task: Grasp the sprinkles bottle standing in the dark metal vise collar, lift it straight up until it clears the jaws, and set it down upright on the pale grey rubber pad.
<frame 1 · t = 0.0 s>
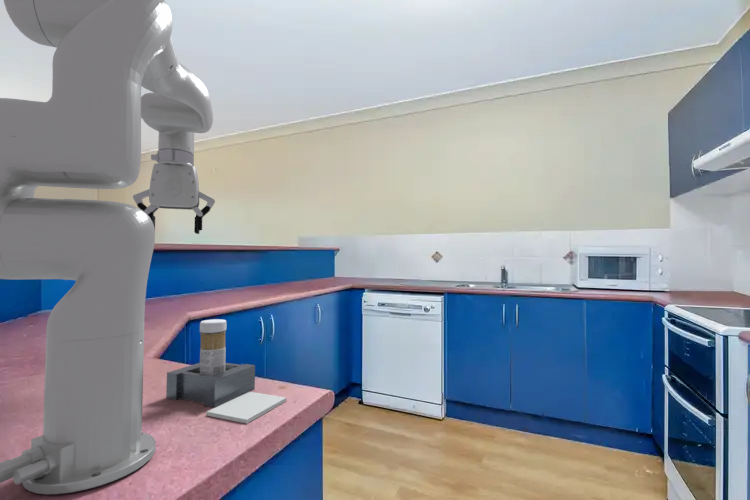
hand: (174, 232, 89), 31 cm above the table, tool pointing down, fingers open, 9 cm apart
sprinkles bottle: (212, 394, 69), resting in vise collar
vise collar: (212, 393, 69), on the table
rubber pad: (248, 407, 62), on the table
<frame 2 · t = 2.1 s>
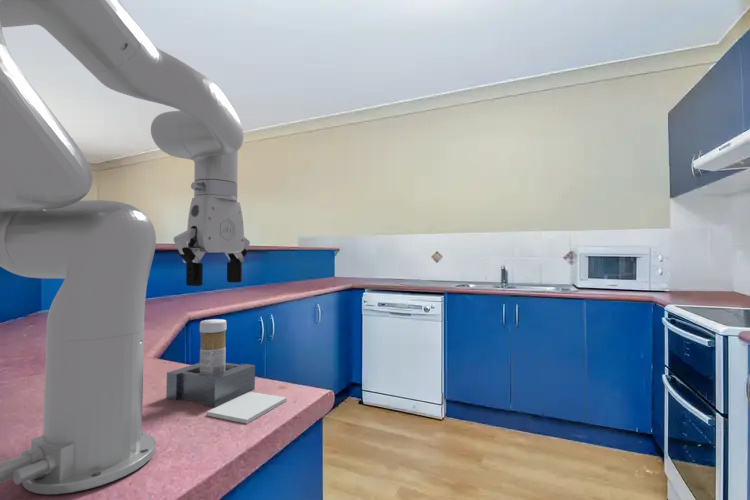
hand: (215, 283, 71), 20 cm above the table, tool pointing down, fingers open, 9 cm apart
nothing on the table moved.
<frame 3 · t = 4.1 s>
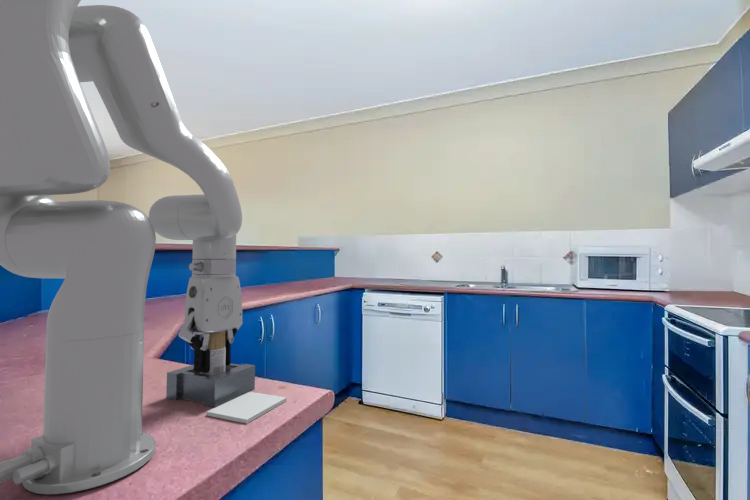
hand: (212, 366, 70), 5 cm above the table, tool pointing down, fingers closed on sprinkles bottle, 4 cm apart
sprinkles bottle: (212, 394, 69), resting in vise collar, touching gripper
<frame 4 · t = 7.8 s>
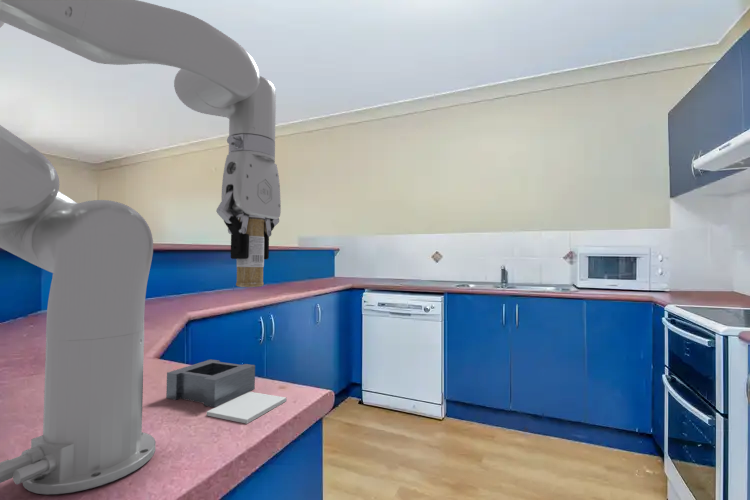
hand: (250, 257, 63), 25 cm above the table, tool pointing down, fingers closed on sprinkles bottle, 4 cm apart
sprinkles bottle: (249, 288, 63), point 20 cm above the table, touching gripper
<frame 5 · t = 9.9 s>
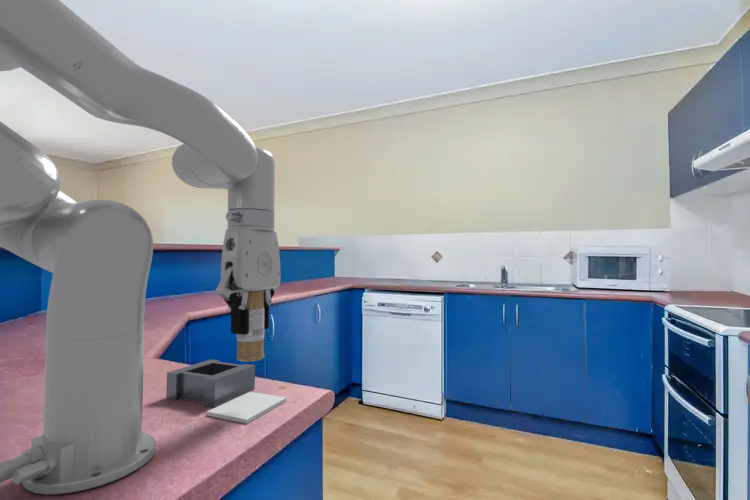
hand: (250, 329, 63), 13 cm above the table, tool pointing down, fingers closed on sprinkles bottle, 4 cm apart
sprinkles bottle: (250, 360, 63), point 8 cm above the table, touching gripper
when the fingers open (6 cm above the table, at t = 11.6 s): sprinkles bottle stays where it is, resting on rubber pad.
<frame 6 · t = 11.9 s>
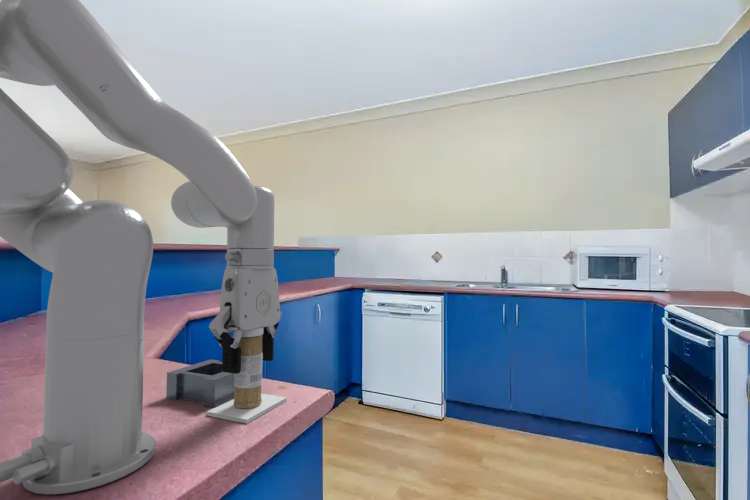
hand: (249, 365, 63), 7 cm above the table, tool pointing down, fingers open, 7 cm apart
sprinkles bottle: (247, 405, 62), resting on rubber pad
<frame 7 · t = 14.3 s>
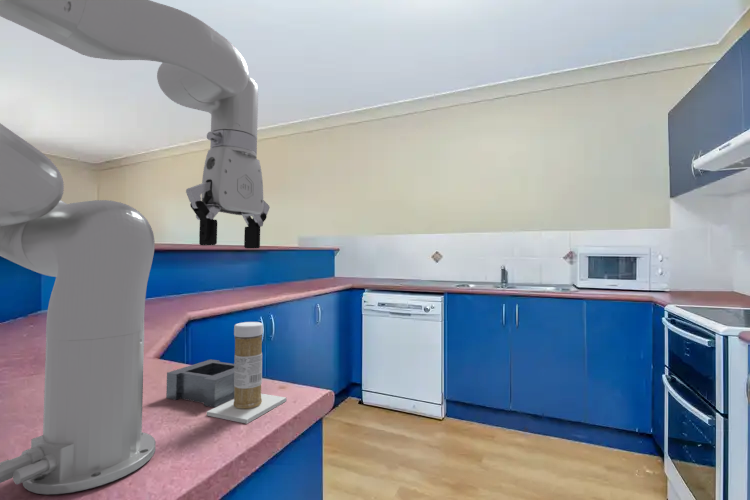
hand: (231, 246, 64), 27 cm above the table, tool pointing down, fingers open, 9 cm apart
nothing on the table moved.
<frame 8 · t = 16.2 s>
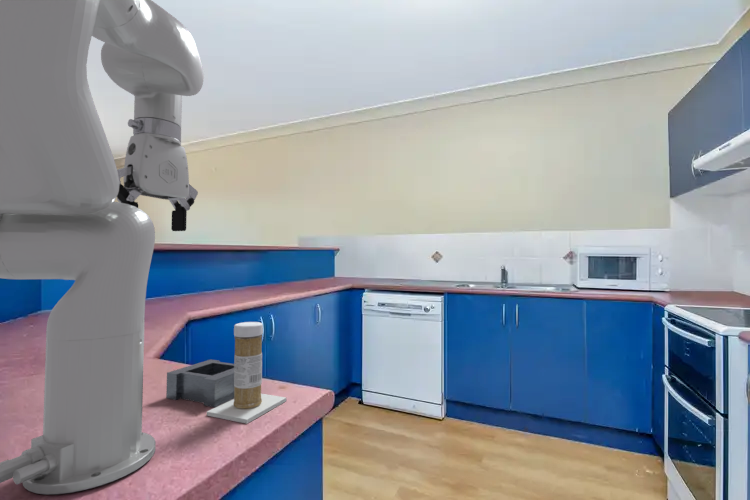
hand: (155, 228, 68), 30 cm above the table, tool pointing down, fingers open, 9 cm apart
nothing on the table moved.
at the end: sprinkles bottle 0.2 cm off-centre on the rubber pad, point 0.4 cm above the rubber pad's base; sprinkles bottle tilted 0°; the gripper is holding nothing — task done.
